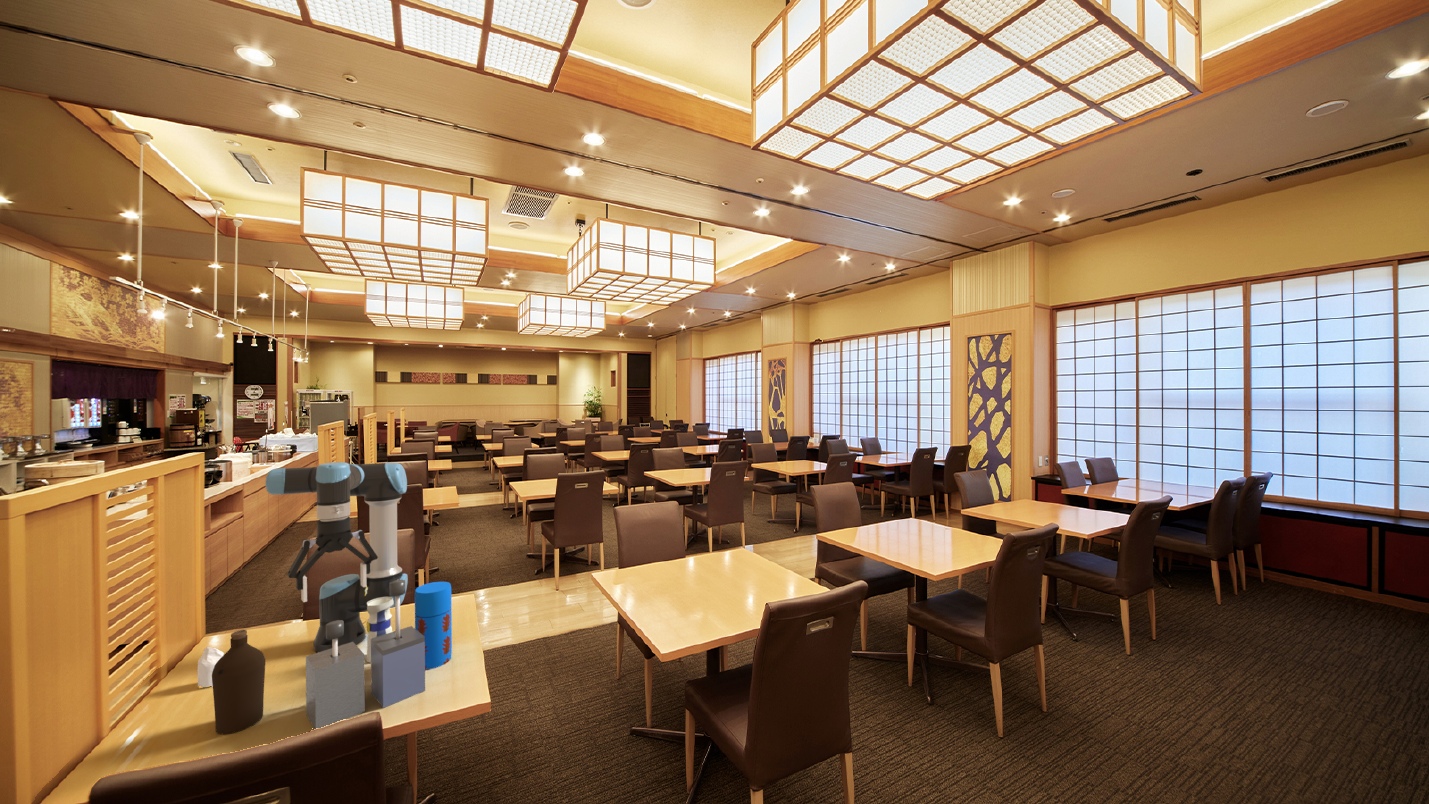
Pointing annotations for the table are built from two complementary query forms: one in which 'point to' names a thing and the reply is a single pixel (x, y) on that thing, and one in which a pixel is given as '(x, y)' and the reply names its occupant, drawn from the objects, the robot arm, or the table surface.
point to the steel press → (334, 685)
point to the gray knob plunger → (397, 602)
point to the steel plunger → (334, 634)
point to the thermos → (434, 622)
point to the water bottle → (378, 619)
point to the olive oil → (238, 686)
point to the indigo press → (397, 666)
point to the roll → (207, 666)
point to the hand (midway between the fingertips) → (335, 593)
